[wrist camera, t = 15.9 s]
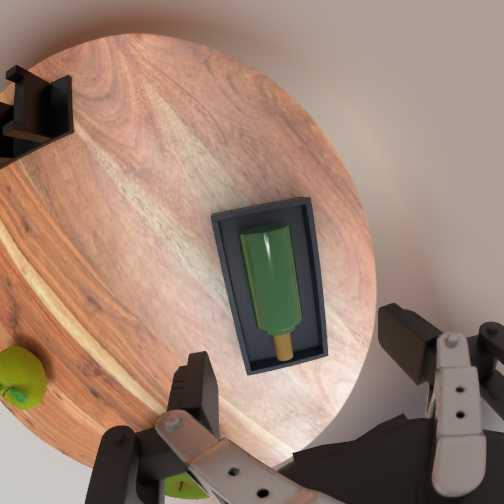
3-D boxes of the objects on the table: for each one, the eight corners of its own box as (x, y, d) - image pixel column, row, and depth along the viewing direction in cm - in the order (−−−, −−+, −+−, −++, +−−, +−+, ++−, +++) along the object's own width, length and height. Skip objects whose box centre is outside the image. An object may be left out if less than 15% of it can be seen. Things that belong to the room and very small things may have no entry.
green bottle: (239, 228, 30) (234, 237, 25) (287, 219, 30) (292, 227, 25) (262, 347, 34) (262, 372, 29) (304, 340, 33) (310, 365, 28)
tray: (211, 214, 30) (210, 216, 27) (303, 196, 31) (310, 197, 28) (245, 364, 34) (247, 375, 32) (321, 345, 35) (328, 356, 33)
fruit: (8, 328, 30) (-28, 358, 20) (51, 346, 31) (18, 384, 21) (18, 373, 31) (-10, 406, 22) (60, 392, 33) (35, 431, 23)
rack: (71, 76, 24) (35, 51, 15) (73, 132, 26) (32, 118, 17) (-3, 119, 23) (-43, 110, 14) (-1, 170, 25) (-44, 170, 16)
